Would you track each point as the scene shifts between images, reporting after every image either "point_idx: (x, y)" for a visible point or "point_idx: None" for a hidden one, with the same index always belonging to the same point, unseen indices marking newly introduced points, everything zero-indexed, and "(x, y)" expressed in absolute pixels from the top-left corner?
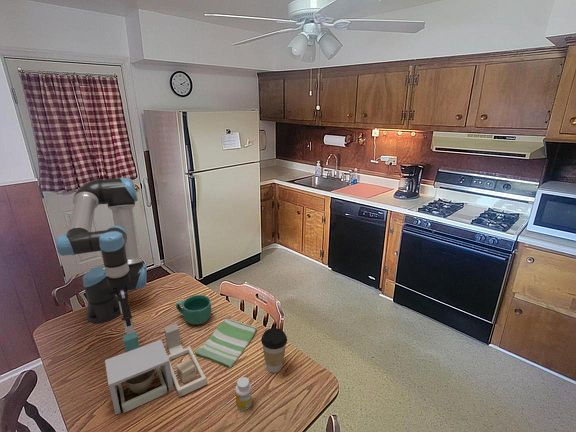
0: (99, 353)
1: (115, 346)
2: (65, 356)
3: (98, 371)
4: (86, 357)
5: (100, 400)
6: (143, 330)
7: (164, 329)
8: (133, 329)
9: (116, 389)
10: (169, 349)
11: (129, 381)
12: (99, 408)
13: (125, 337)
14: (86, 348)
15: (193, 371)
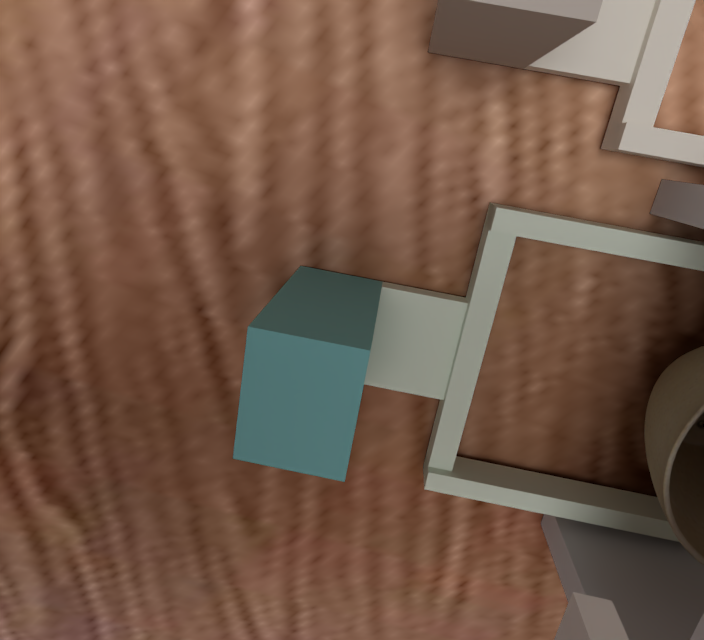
0: (163, 478)
1: (154, 384)
2: (72, 609)
3: (332, 529)
4: (153, 540)
5: None
6: (81, 146)
7: (452, 4)
8: (621, 633)
9: (633, 543)
10: (541, 62)
11: (674, 484)
12: None
13: (287, 447)
14: (64, 517)
15: None
